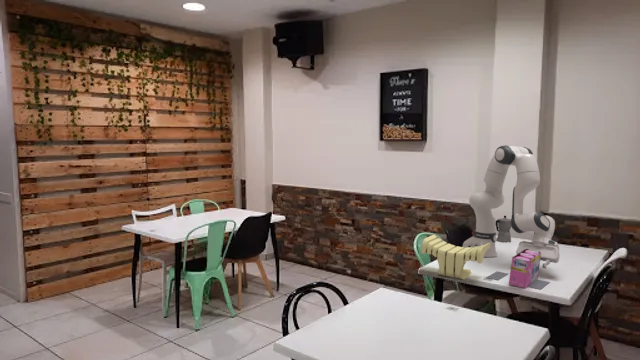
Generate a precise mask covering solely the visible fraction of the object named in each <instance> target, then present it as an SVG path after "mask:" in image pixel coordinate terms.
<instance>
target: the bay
mask: <svg viewBox="0 0 640 360" xmlns="http://www.w3.org/2000/svg"><path fill="white" fill-rule="evenodd" d="M507 275H509V273H507V272H502V271H498V270H496V271H495V272H493V273H491V274H489V275H487V276H486V277H485V278H486V279H490V280H493V279H494V280H495V281H500V280H501V279H503V278H504V277H506V276H507ZM550 283H551V282H550V281H548V280H541V279H538V278H537V279H536V280H534V281H533V282H532V283H531V284H530V285H529V286H527V287H526V288H532V289H536V290H542V289H544V288H545V287H546V286H547V285H549V284H550Z"/></svg>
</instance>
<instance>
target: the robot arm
mask: <svg viewBox="0 0 640 360" xmlns="http://www.w3.org/2000/svg"><path fill="white" fill-rule="evenodd" d="M510 166H514V167H515V170H516V176H517V177H516V178H517V179H516V183H515V186H514V187H513V190H512V200H511V201H512V202H511V203H512V204H511V205H512V206H511V207H512V208H511V210H512V211H511V218H510V219H511V228H512V229H511V230H513V231H514V232H516V233H517V234H523V233H527V232H534V234H533V235H532V239H531V241H526V240H522V241H520V242H519V243H518V247H517V249H516V251H515V252H516V253H515V254H516V255H517V254H518V253H520V252H521V251H523V250H524V249H529V251H535V252H537V253H538V252H541V256H540V261H542V262H545V263H542V265H541V266H542V268H543V269H546V268H547V266H548V265H550V264H551V263H554V264H557V263H559V261H560V246H559V243H558V242H557V241H555V240H552V238H553V236H554V233H555V229H556V221H555V219H554V218H553V217H551V216H549V215H545V214H544V213H542V211H533V212H529V213H527V212H526V213H524V199H525V197H526V196H527V195H528V194H529V193H530V192H532V191H534V190H535V189H536V188H537V187H538V186H539V185H540V183H541V174H540V169H539V168H540V167H539V164H538V161H537V158H536V156H535V155H534V153H533V151H532V150H531V149H530V148H528V147H525V146H519V145H500V146H499V147H497V148H496V149H495V151H494V154H493V155H492V158H490V161H489V164H488V166H487V169H486V171H485V175H484V178H483V182H484V183H485V190H483V191H477V192H475V193H473V194H471V195H470V197H469V201H468V202H469V205H470V207H471V208H472V209H473V211H474V214H475V221H476V222H475V230H474V231H472V232H471V235H472V236H471V237H469V238H467V239H466V240H464V241H463V243H462V247H464V248H466V247H473V248H474V247H477V246H481V245H485V244H487V243H490V248H489V249H488V250H487V251H486V252H485V255H484V258H494V257H497V256H498V254H497V249H496V248H497V247H496V241H497V232H496V220H497V219H496V218H495V217H494V215H493V213H492V210H493V209H497V208H499V207H501V206H502V205H503V204H504V203H505V196H504V194H503V186H504V183H505V179H506V176H507V173H508V170H509V168H510Z"/></svg>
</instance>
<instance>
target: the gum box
mask: <svg viewBox="0 0 640 360" xmlns="http://www.w3.org/2000/svg"><path fill="white" fill-rule="evenodd" d="M540 256H541V252H538V253H537V252H535V251H529V249H524V250H523V251H521V252H520V253H518V254H517V253H516V254H515V255H514V256H512V257H511V265H510V273H509V279H508V284H509V285H512V286H515V287H519V288H522V289H526V288H528V287H527V286H529V285H530V284H531V283H533V282H534V281H536V280H537V279H538V278H539V274H540V273H539V272H540V264H541V260H540Z"/></svg>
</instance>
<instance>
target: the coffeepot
mask: <svg viewBox="0 0 640 360" xmlns="http://www.w3.org/2000/svg"><path fill="white" fill-rule="evenodd" d="M495 220H496V226H495V230H496V231H497V232H498V233H497V236H496V241H497V242H499V243H504V242H505V243H507V242H509V243H511V242H512V238H511V232H510V231H511V230H512V229H511V228H512V227H511V218H510V219H509V218H507V215H503V218H502V217H501V218H498V219H495Z"/></svg>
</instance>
